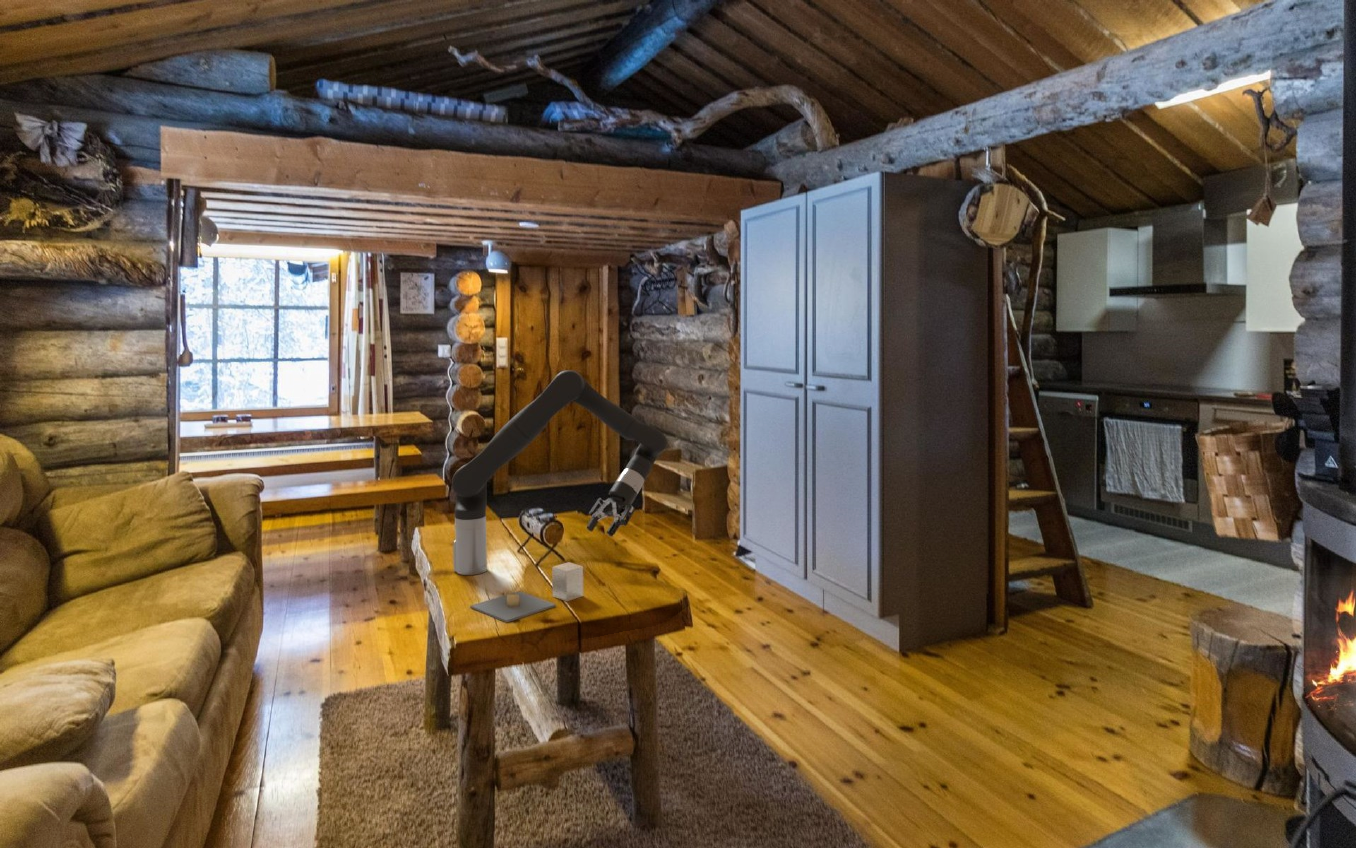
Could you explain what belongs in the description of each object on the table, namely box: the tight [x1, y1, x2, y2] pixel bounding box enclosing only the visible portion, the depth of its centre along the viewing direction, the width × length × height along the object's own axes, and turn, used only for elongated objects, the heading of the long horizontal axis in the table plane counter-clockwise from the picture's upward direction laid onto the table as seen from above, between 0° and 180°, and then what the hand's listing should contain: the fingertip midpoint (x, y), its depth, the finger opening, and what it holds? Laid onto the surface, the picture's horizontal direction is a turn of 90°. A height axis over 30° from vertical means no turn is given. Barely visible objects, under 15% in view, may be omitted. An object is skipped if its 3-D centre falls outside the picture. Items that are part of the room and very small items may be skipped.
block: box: [551, 561, 584, 602], centre depth 214 cm, size 6×6×8 cm
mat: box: [470, 590, 557, 624], centre depth 206 cm, size 16×16×3 cm
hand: (598, 532), depth 222 cm, fingers open, 8 cm apart
